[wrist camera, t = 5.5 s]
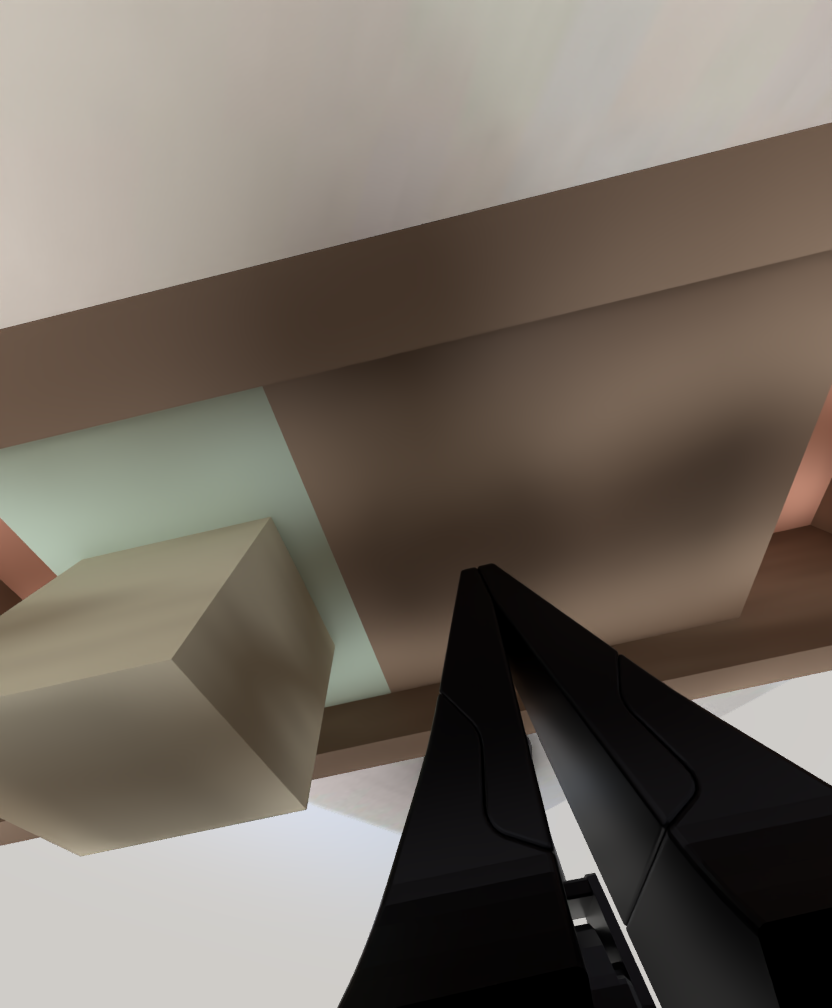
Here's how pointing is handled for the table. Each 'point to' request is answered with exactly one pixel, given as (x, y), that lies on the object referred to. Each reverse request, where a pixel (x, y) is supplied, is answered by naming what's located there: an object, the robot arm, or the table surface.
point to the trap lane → (475, 430)
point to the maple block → (162, 692)
